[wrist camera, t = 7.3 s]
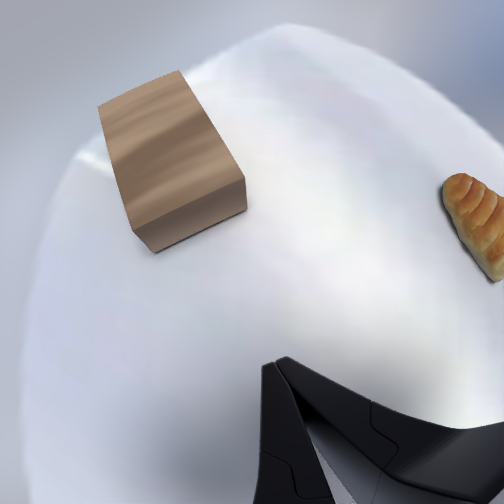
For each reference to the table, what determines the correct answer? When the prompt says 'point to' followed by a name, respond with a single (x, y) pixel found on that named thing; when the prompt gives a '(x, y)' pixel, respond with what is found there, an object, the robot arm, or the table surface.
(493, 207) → the pastry
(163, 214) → the block
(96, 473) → the table surface
